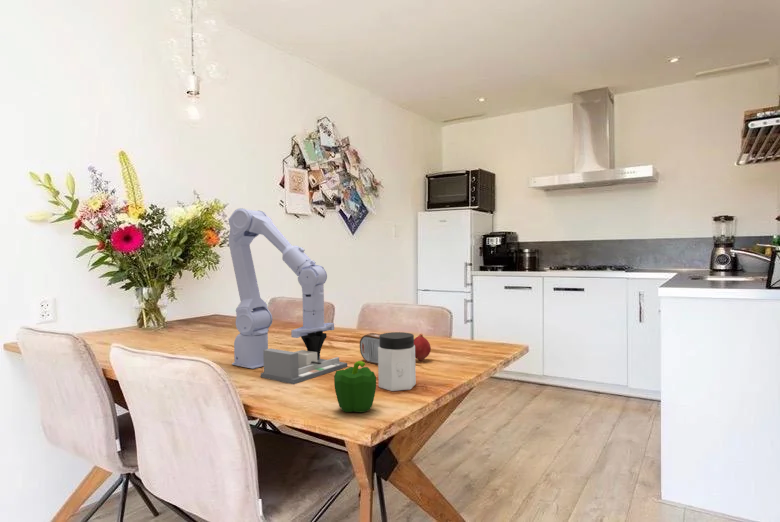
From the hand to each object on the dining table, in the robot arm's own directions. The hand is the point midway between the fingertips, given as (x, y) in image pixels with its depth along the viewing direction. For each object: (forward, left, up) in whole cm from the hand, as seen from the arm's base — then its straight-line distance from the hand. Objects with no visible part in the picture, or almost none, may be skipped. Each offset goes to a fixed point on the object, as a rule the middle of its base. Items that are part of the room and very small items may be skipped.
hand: (314, 360), depth 126 cm
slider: (+2, -4, -1) cm, 4 cm away
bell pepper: (+30, -19, -3) cm, 36 cm away
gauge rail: (0, -3, -2) cm, 4 cm away
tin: (+12, +14, -3) cm, 18 cm away
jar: (+28, -1, -3) cm, 28 cm away
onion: (+20, +23, -3) cm, 30 cm away
